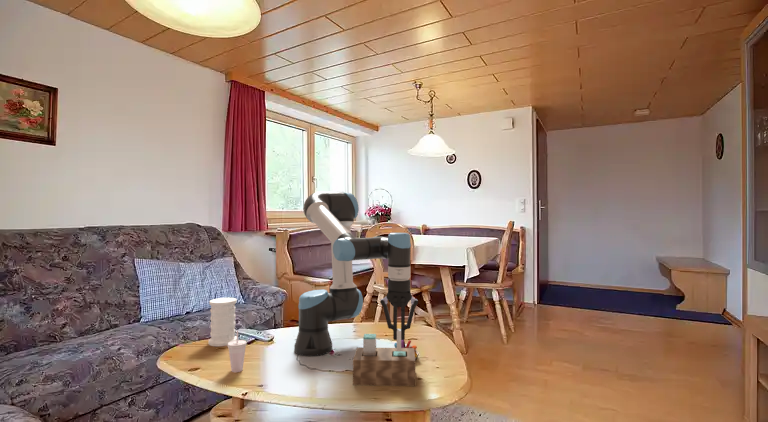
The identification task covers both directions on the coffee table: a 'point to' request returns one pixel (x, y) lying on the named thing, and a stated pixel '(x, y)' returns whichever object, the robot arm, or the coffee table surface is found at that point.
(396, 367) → the socket block
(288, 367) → the coffee table surface
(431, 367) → the coffee table surface
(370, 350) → the peg
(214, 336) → the decorative container
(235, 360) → the smoothie
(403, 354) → the peg
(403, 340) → the rainbow disc car
